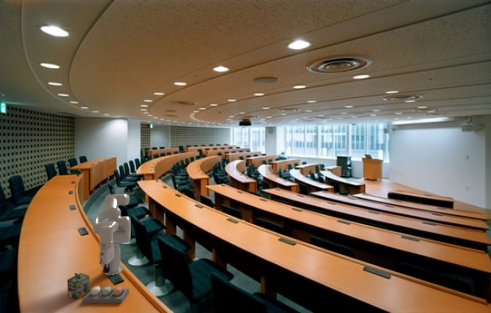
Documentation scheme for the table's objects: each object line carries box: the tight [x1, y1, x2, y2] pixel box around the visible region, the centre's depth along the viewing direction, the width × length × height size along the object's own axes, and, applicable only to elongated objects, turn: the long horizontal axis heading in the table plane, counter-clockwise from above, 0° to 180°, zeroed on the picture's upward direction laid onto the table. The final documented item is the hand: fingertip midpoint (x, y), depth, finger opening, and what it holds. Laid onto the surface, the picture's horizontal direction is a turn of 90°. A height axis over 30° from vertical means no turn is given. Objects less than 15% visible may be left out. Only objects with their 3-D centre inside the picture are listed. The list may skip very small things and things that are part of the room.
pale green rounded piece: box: [103, 286, 112, 297], centre depth 156 cm, size 5×5×4 cm
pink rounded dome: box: [113, 285, 123, 297], centre depth 156 cm, size 5×5×4 cm
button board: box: [82, 287, 130, 304], centre depth 156 cm, size 24×10×3 cm, turn 92°
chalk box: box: [67, 272, 91, 301], centre depth 158 cm, size 9×9×15 cm
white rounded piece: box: [90, 285, 101, 296], centre depth 155 cm, size 5×5×4 cm
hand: (106, 272), depth 154 cm, fingers closed
